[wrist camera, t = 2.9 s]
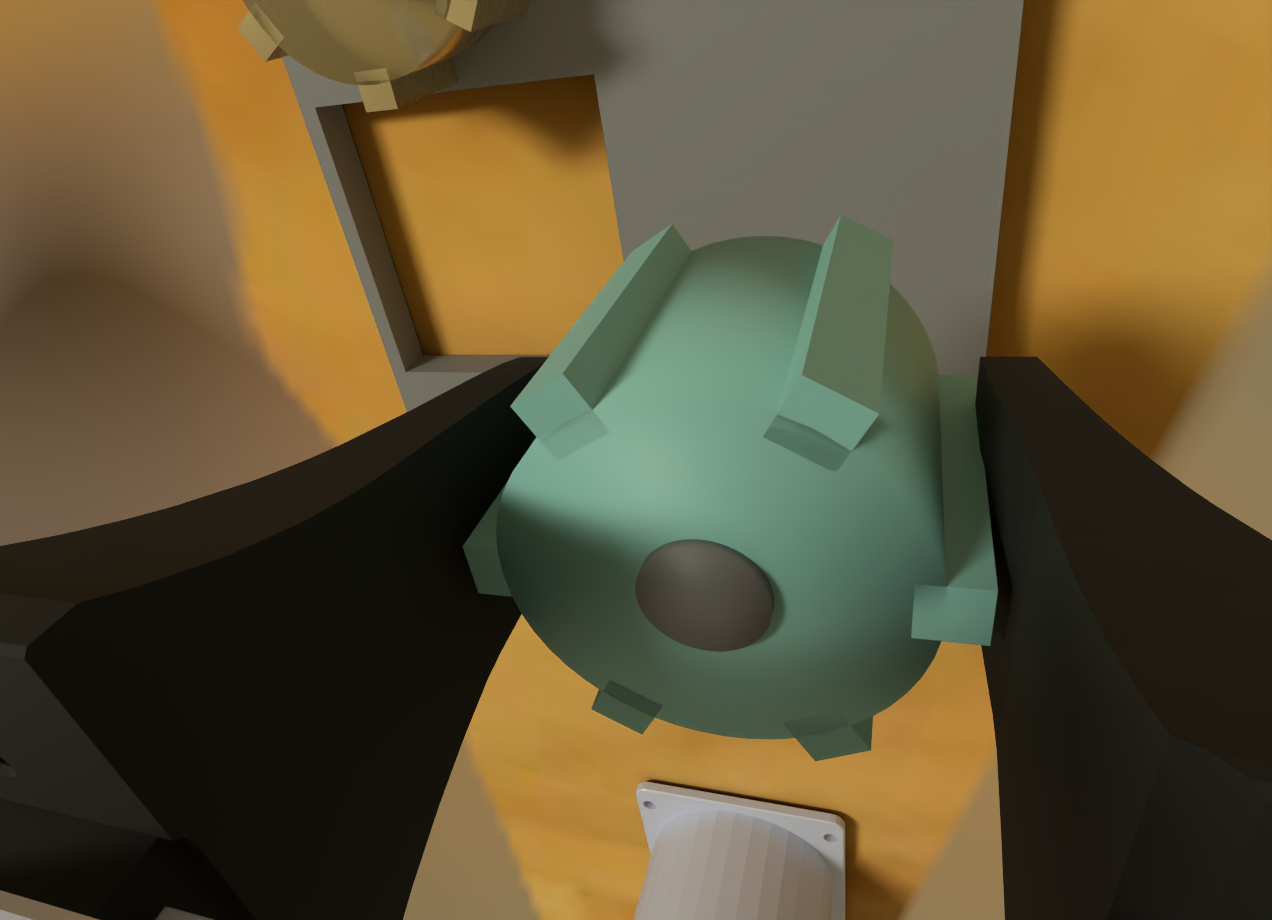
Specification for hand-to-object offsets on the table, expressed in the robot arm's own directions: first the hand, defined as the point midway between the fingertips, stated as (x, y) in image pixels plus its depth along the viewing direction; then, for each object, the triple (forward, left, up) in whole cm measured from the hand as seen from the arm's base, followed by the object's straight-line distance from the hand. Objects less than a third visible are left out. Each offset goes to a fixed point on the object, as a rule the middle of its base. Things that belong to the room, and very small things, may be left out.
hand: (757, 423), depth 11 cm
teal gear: (0, 0, -1) cm, 1 cm away
